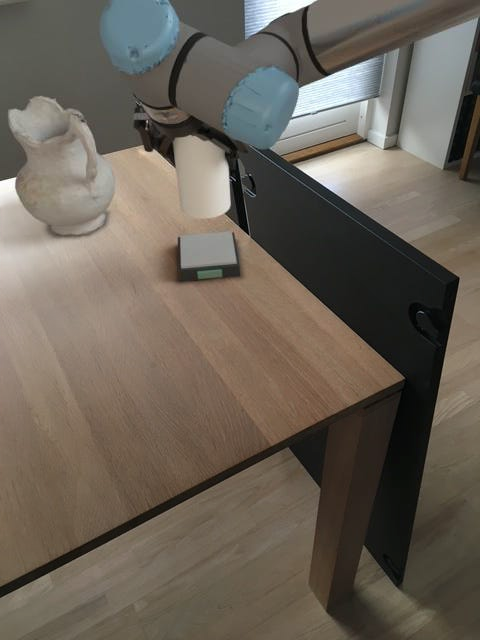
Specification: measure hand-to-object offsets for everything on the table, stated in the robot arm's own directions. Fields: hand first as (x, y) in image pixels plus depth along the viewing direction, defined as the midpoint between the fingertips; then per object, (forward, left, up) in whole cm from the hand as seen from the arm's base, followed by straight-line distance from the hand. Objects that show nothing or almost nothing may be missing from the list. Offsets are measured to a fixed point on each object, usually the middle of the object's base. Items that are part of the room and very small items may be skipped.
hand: (206, 161), depth 87 cm
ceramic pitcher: (+27, -19, -21) cm, 39 cm away
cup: (+1, +3, -6) cm, 7 cm away
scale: (+1, -1, -21) cm, 21 cm away
